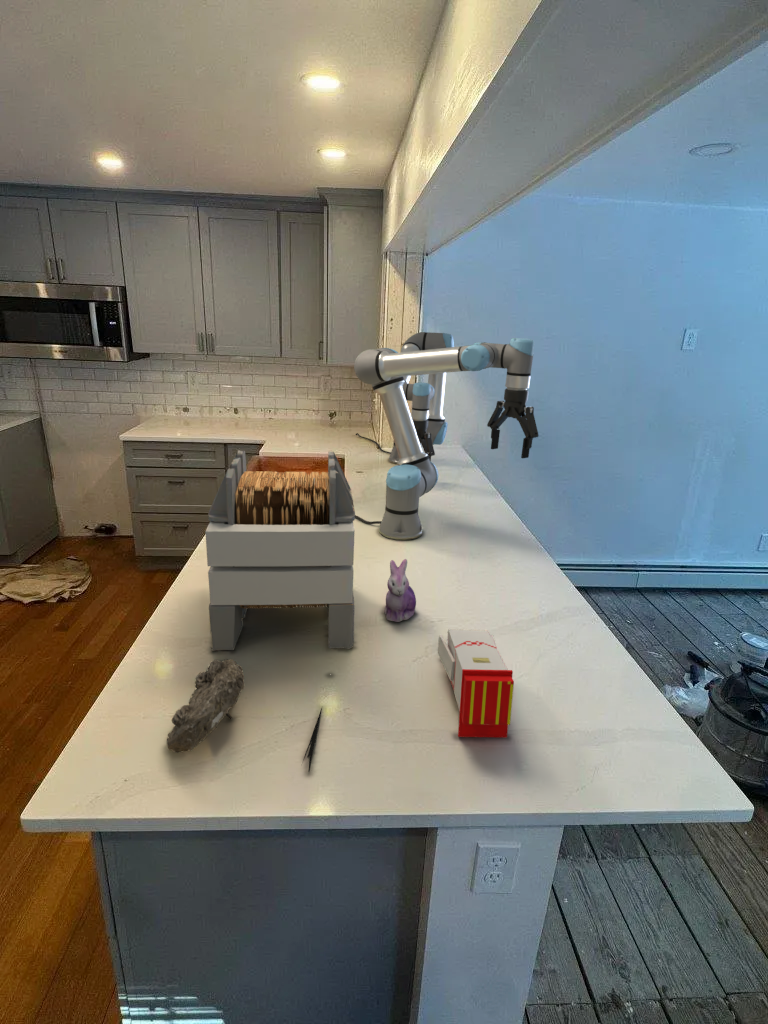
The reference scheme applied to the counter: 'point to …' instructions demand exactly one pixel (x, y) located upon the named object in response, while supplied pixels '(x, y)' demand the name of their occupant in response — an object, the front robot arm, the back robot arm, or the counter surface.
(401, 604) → the figurine
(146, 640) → the counter surface
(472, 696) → the toy
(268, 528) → the record crate stand
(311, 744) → the dark thin pointed piece
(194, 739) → the fossil
